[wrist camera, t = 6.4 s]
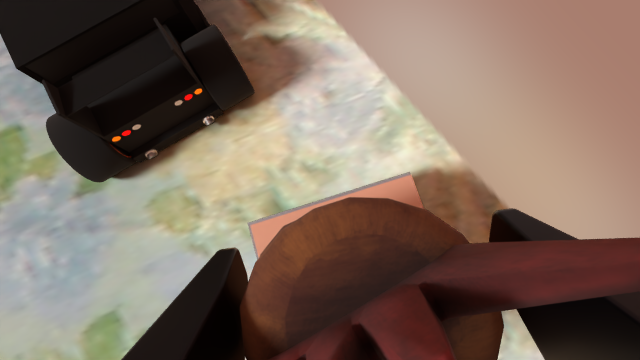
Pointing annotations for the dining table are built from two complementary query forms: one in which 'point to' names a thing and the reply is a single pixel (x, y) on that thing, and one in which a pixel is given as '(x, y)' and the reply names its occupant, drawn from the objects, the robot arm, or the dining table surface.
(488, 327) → the wooden figurine
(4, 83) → the dining table surface
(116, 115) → the black toy car
